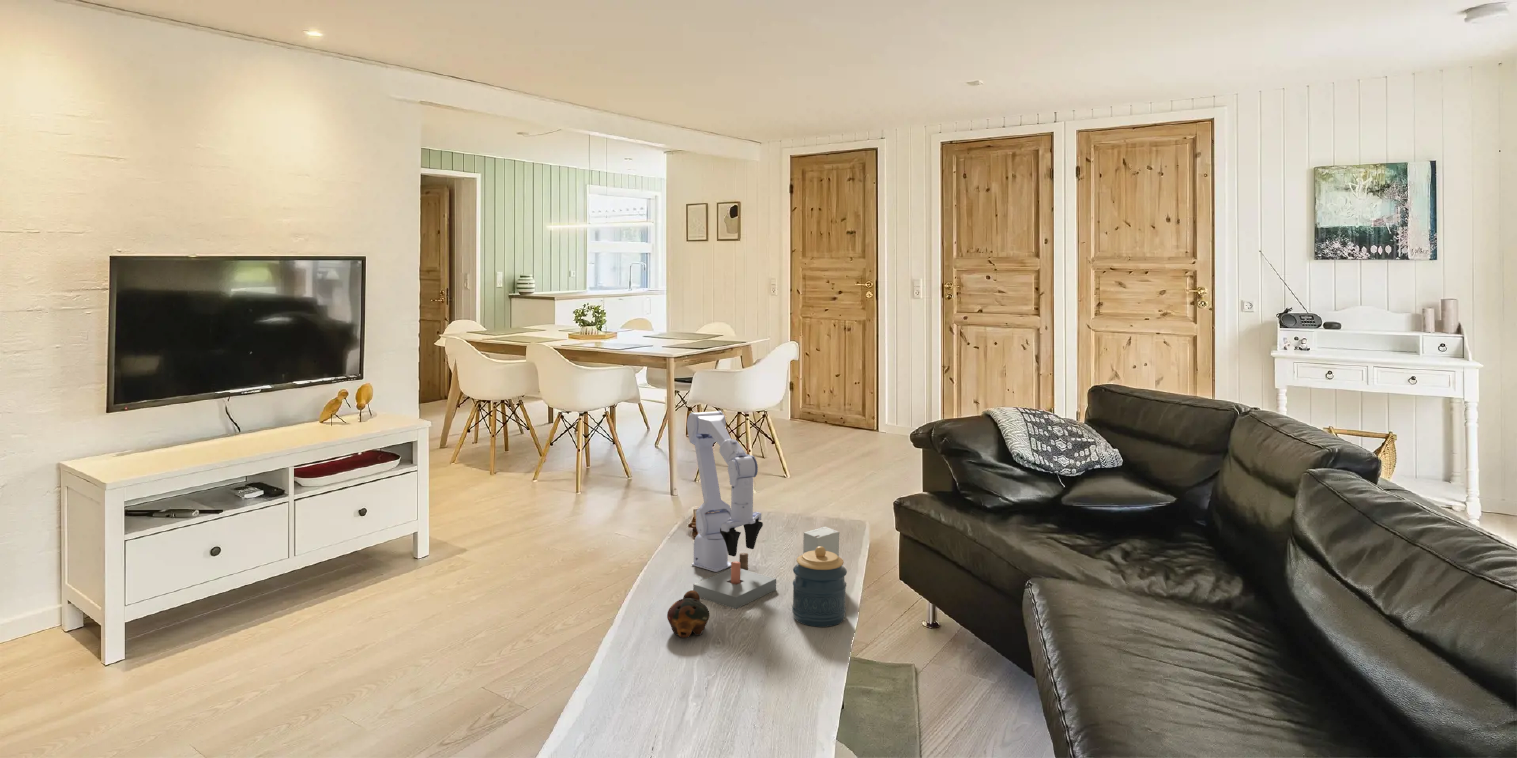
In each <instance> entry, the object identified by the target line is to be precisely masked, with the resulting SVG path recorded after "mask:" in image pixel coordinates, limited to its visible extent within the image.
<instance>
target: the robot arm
mask: <svg viewBox="0 0 1517 758" xmlns="http://www.w3.org/2000/svg"><path fill="white" fill-rule="evenodd" d="M726 422H727V421H726V417H725V414H724V413H723V411H722V410H717V411H702V412H693V411H692V412H690V413H689V415H687V421H686V430H687V434H688V440H689V443H690V444H692V445H694V449H695V454H696V461H697V466H698V467H697V468H698V473H699V474H698V475H699V480H700V487H701V491H702V492H701V493H702V497H703V502H702V504H700V506H699V507H698V508H697V509H696V511H695V527H696V532H697V533H698V534H696V536H695V538H694V541H693V562H692V563H691V565H692V566H693V567H697V568H701V569H704V570H707V571H712V572H713V573H720V571H721V572H722V571H724V570H725V569H728V568H731V561H729V559H728V557H729V556H731V557H736V556H737V552H738V543H739V539H740V536H741V535H742V534H741V533H742V532H741V531H738V530H736V528H739V527H741V526H743V529H744V536H745V547H746V549H750V550H754V549H755V546H756V542H757V539H758V535H759V533H760V531H761V529H762V528H763V525H764V524H763V522H762V521H761V520H762V512H759V511H754V478H756V477H757V475H758V473H759V472H758V471H759V465H758V461H757V459H756V457H755V456H754V455H751V454H750V453H749V454H747V453H746V451H745V450H744V448H743V447H742V446H741V444H740V443H739V441H738V440H736V439H735V438H732V437H731V436H730V434H729V431H728V429H727V428H726V424H727V423H726ZM715 443H717V444H718V445H719V454H720V455H721V457H722V459H723V460H724V461H725V463H726V465H727V473H728V476H729V485H731V498H730V499H731V501H730V503H731V504H728V502H725V501H724V500H722V497H721V492H720V491H721V490H720V486H719V485H720V484H719V480H718V479H719V478H718V472H717V466H716V462H715V461H716V460H715V454H714V449H713V446H714V444H715Z"/></svg>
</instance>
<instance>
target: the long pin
mask: <svg viewBox="0 0 1517 758" xmlns="http://www.w3.org/2000/svg"><path fill="white" fill-rule="evenodd" d="M730 562H731V561H730ZM730 569H731V583H732V584H736V585H737V584H739V583H740V562H739V561H732V562H731V567H730Z"/></svg>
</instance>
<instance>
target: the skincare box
mask: <svg viewBox="0 0 1517 758" xmlns="http://www.w3.org/2000/svg"><path fill="white" fill-rule="evenodd" d="M818 546H822V547H824V548H825V550H826V551H829V552H832V553H835V554H836V555H837V556H839V557H840V552H839V551H840V550H839V549H840V531H838V530H835V529H833V528H831V527H828V526H821V527H819V528H816V529H811V530H808V531H804V532H803V547H802V548H803V549H802V550H803V551H802V555H803V554H804V553H806V552H808V551H815V549H816V548H817V547H818Z"/></svg>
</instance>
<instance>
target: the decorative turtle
mask: <svg viewBox="0 0 1517 758" xmlns="http://www.w3.org/2000/svg"><path fill="white" fill-rule="evenodd" d="M700 599H701V598H700V597H699V594H698V593H697V592H696V591H694V590H688V591H686V592H685V594H684V595H683V598H681V599H678V600H677V601H675V602H673V604H672V605H671V606H670V607H669V608H668V610H667V615H666V618H667V621H668V623H669V625H670V628H671V629H672V632H673V633H674V634H675V635H676V634H678V635H677V636H678V637H680V638H681V639H683V638H684V639H687V638H689V637H690V636H691V635H692V632H693V633H694V634H695V636H701V635H702V634H703V632H704V630H705V628H706V627H707V624H708V621H709V618H710V611H709V608H708V607H707V605H705V603H703V602H702V601H701V600H700ZM700 634H701V635H700Z"/></svg>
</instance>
